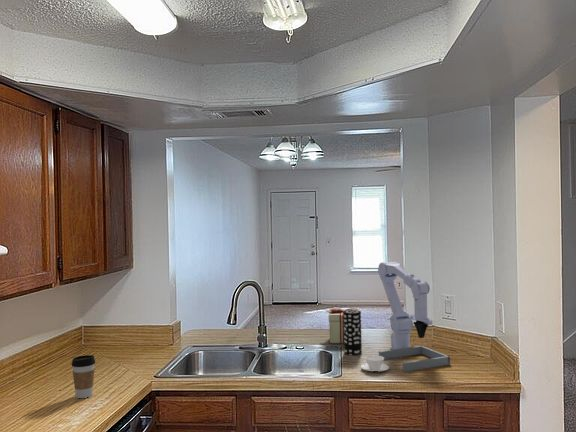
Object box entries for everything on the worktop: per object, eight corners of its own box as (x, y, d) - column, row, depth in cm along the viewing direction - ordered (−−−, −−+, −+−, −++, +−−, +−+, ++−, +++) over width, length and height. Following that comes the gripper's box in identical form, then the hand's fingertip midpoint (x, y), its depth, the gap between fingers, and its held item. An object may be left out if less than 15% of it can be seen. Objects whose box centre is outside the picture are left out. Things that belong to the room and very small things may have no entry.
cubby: (378, 359, 228) (378, 351, 228) (421, 353, 237) (421, 345, 237) (404, 371, 209) (404, 363, 209) (450, 364, 217) (450, 356, 217)
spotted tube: (363, 351, 241) (363, 310, 241) (358, 356, 233) (358, 313, 233) (347, 350, 244) (346, 309, 244) (342, 354, 237) (341, 312, 237)
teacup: (361, 365, 219) (361, 353, 219) (388, 366, 217) (388, 354, 217) (360, 373, 208) (360, 361, 208) (389, 375, 205) (389, 362, 205)
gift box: (356, 335, 274) (356, 304, 274) (360, 344, 255) (359, 310, 255) (325, 335, 274) (325, 304, 274) (327, 344, 256) (326, 311, 256)
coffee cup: (84, 401, 182) (83, 360, 182) (67, 398, 185) (66, 358, 185) (100, 393, 190) (100, 354, 190) (83, 391, 193) (83, 353, 193)
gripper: (404, 306, 234) (405, 334, 234) (422, 311, 220) (423, 342, 220) (417, 305, 236) (417, 333, 236) (436, 310, 223) (436, 340, 223)
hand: (421, 337), depth 229 cm, fingers closed
